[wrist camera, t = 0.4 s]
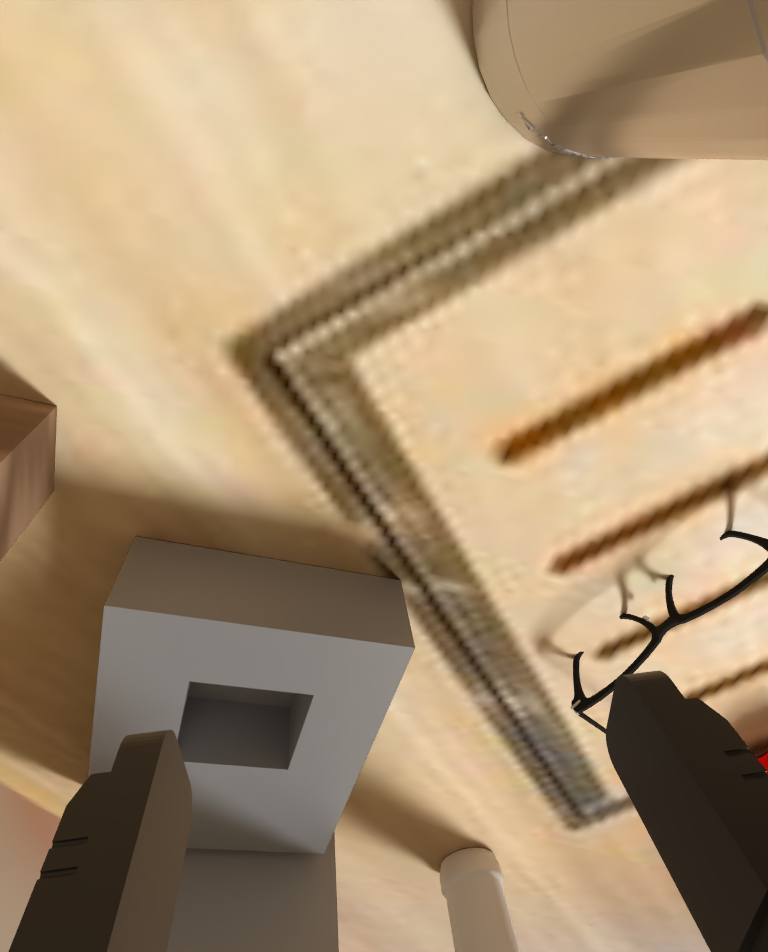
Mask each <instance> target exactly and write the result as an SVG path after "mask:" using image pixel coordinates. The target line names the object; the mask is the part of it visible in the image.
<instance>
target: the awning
mask: <svg viewBox="0 0 768 952" xmlns="http://www.w3.org/2000/svg"><path fill="white" fill-rule="evenodd" d="M166 952H339V948H338V920H337V893H336V865H335V838H334V832H333V834H332V837H331V839H330V841H329V844H328V846H327V848H326V850H325V853H324V854H314V853H290V852H266V851H243V850H219V849H195V848H186V851H185V856H184V862H183V867H182V872H181V877H180V883H179V888H178V893H177V899H176V904H175V909H174V914H173V920H172V925H171V930H170V935H169V941H168V946H167V951H166Z"/></svg>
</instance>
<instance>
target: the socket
mask: <svg viewBox="0 0 768 952" xmlns="http://www.w3.org/2000/svg"><path fill="white" fill-rule="evenodd" d="M414 649H415V645H414V641H413V636H412V631H411V627H410V622H409V617H408V613H407V608H406V603H405V598H404V594H403V589H402V584H401V580H396V579H390V578H384V577H378V576H372V575H366V574H360V573H354V572H348V571H342V570H336V569H330V568H324V567H318V566H312V565H306V564H300V563H294V562H288V561H282V560H276V559H270V558H264V557H257V556H251V555H245V554H239V553H233V552H227V551H221V550H215V549H209V548H203V547H197V546H191V545H185V544H179V543H173V542H167V541H161V540H155V539H149V538H143V537H137V536H135V538H134V541H133V543H132V545H131V547H130V549H129V552H128V554H127V556H126V558H125V560H124V563H123V565H122V567H121V569H120V571H119V574H118V576H117V578H116V580H115V582H114V585H113V587H112V589H111V591H110V593H109V596H108V598H107V600H106V602H105V605H104V611H103V622H102V632H101V643H100V653H99V664H98V674H97V685H96V695H95V706H94V716H93V727H92V737H91V748H90V758H89V769H88V778H89V777H90V775H91V774H96V773H104V772H111V770H112V767H113V764H114V761H115V758H116V755H117V752H118V750H119V747H120V744H121V742H122V740H123V739H124V738H125V737H126V736H127V735H132V734H140V733H148V732H156V731H164V730H173V731H174V733H175V735H176V738H177V741H178V745H179V748H180V751H181V754H182V758H183V761H184V764H185V767H186V771H187V774H188V777H189V780H190V784H191V789H192V817H191V825H190V830H189V835H188V841H187V846H186V848H195V849H219V850H243V851H266V852H290V853H314V854H324V853H325V850H326V848H327V846H328V844H329V841H330V839H331V837H332V834H333V832H334V830H335V828H336V825H337V823H338V821H339V819H340V816H341V814H342V812H343V810H344V807H345V805H346V803H347V801H348V798H349V796H350V794H351V792H352V789H353V787H354V785H355V783H356V780H357V778H358V776H359V773H360V771H361V769H362V767H363V764H364V762H365V760H366V758H367V755H368V753H369V751H370V749H371V746H372V744H373V742H374V740H375V737H376V735H377V733H378V731H379V728H380V726H381V724H382V721H383V719H384V717H385V715H386V712H387V710H388V708H389V706H390V703H391V701H392V699H393V697H394V694H395V692H396V690H397V688H398V685H399V683H400V681H401V679H402V676H403V674H404V672H405V670H406V667H407V665H408V663H409V660H410V658H411V656H412V654H413V651H414Z"/></svg>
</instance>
